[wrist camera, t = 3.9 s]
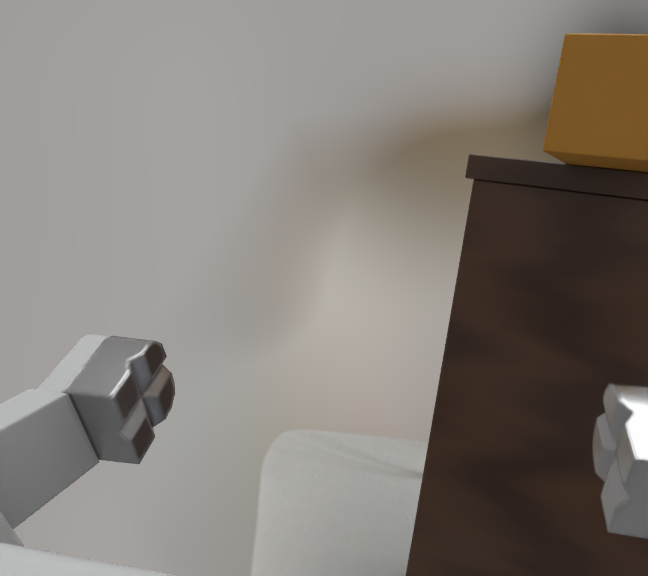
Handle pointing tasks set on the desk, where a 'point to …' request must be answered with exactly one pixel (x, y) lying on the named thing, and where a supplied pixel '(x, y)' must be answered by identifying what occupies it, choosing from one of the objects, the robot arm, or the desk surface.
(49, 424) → the robot arm
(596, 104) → the bar
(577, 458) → the stand
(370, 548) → the desk surface
